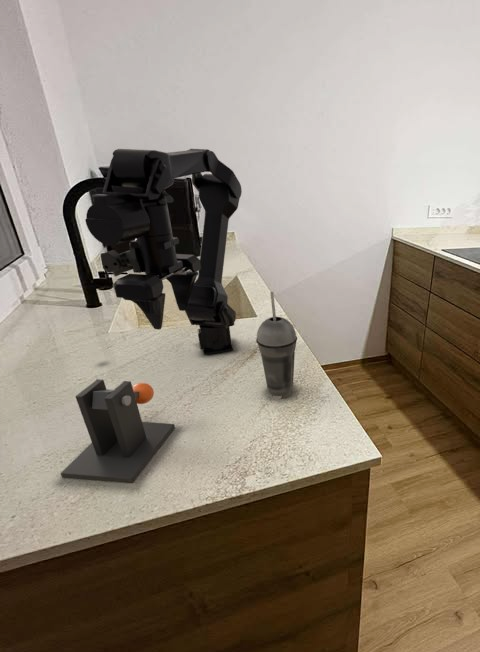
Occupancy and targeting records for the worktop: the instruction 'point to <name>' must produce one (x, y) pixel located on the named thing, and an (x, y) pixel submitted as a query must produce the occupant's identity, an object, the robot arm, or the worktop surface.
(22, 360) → the worktop surface
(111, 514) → the worktop surface
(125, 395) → the switch bracket
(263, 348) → the beverage cup
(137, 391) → the lever
